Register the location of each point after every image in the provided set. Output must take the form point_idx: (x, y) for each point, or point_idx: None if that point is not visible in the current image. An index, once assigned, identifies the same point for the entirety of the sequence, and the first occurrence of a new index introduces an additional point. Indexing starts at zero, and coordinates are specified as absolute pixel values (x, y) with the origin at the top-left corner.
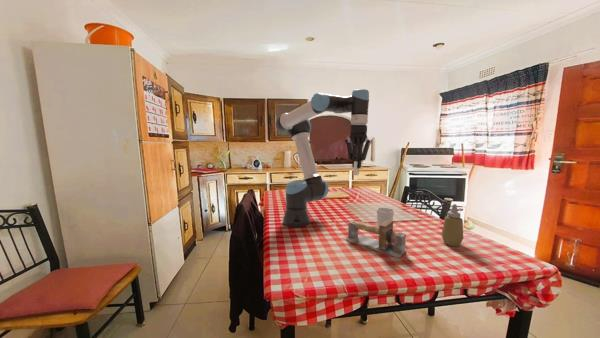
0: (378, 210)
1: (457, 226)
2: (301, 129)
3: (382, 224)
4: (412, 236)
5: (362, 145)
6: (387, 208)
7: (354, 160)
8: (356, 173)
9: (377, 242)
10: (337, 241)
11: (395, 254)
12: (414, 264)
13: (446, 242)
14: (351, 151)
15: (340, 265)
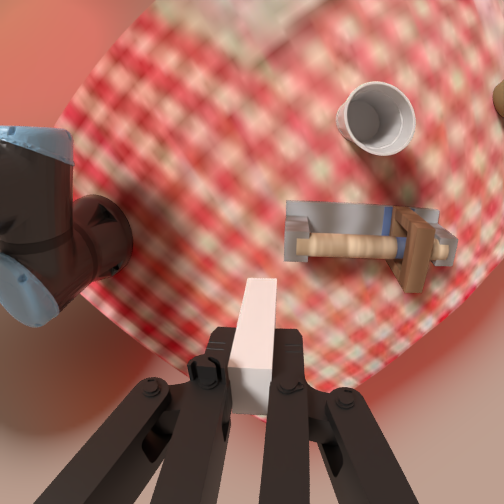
0: (362, 148)
1: None
2: None
3: (411, 282)
4: (431, 98)
5: None
6: (377, 84)
7: (229, 414)
8: (275, 327)
9: (370, 219)
10: (270, 271)
11: None
12: (454, 262)
13: (502, 115)
14: (123, 477)
15: (331, 352)
